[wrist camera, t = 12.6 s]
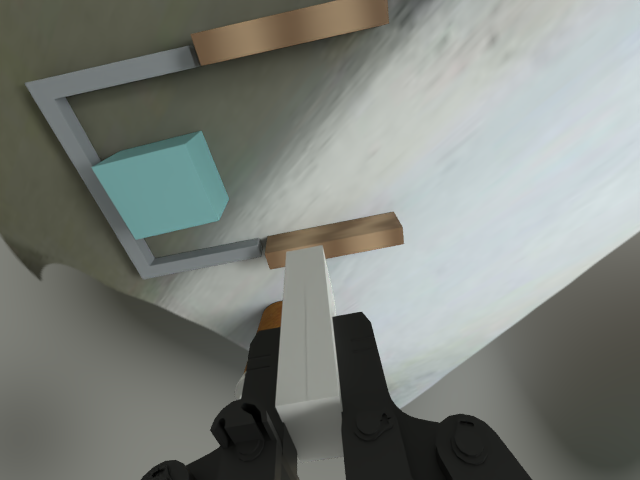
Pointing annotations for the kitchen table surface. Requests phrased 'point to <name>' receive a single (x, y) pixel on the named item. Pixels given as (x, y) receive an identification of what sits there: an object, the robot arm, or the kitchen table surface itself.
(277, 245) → the wooden guide rails
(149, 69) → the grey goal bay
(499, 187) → the kitchen table surface
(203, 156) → the teal block
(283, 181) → the kitchen table surface
